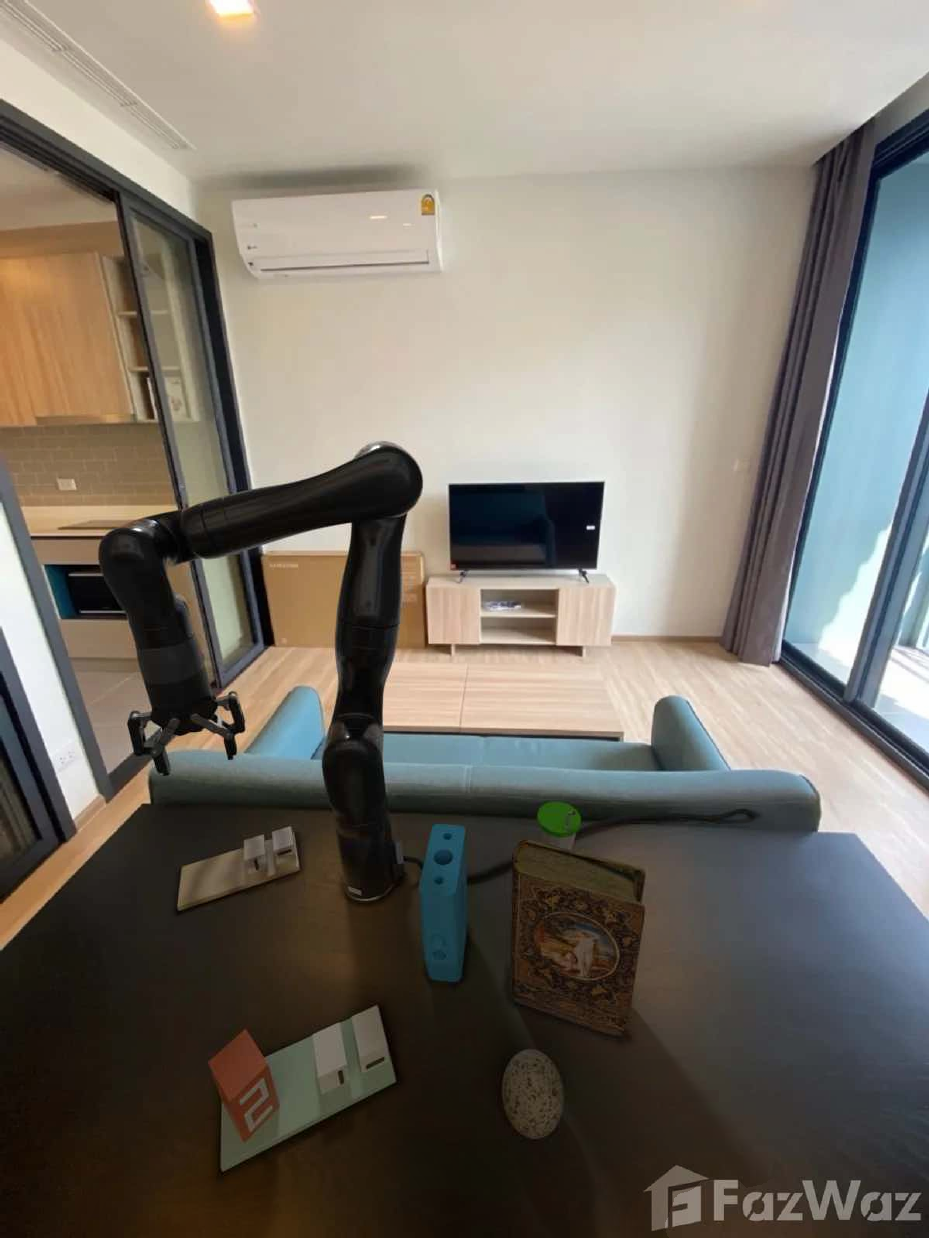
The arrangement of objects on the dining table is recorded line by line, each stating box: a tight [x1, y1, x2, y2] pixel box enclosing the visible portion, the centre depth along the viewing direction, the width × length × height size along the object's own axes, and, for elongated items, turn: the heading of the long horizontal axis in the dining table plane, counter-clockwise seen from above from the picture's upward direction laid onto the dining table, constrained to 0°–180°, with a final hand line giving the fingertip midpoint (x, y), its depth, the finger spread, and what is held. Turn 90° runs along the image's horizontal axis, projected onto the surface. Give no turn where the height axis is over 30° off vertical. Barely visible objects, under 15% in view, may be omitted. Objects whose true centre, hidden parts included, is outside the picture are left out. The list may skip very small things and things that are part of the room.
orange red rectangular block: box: [207, 1028, 280, 1143], centre depth 58 cm, size 4×6×8 cm
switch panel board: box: [220, 1004, 397, 1172], centre depth 62 cm, size 20×9×4 cm, turn 113°
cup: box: [536, 800, 582, 850], centre depth 91 cm, size 8×8×15 cm
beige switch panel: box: [176, 825, 301, 912], centre depth 92 cm, size 20×9×4 cm, turn 113°
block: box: [418, 823, 468, 983], centre depth 74 cm, size 12×5×20 cm, turn 173°
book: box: [508, 839, 646, 1038], centre depth 66 cm, size 16×6×25 cm, turn 71°
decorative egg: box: [501, 1048, 565, 1140], centre depth 58 cm, size 7×7×10 cm
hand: (200, 764), depth 74 cm, fingers open, 8 cm apart
